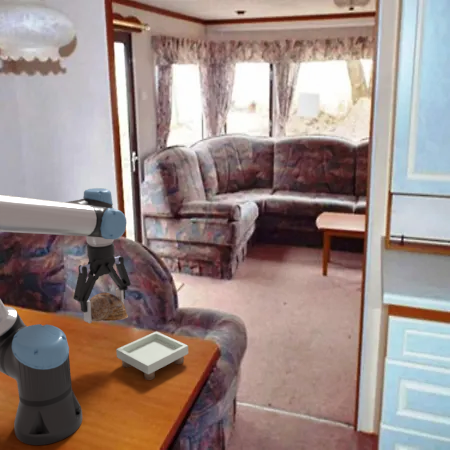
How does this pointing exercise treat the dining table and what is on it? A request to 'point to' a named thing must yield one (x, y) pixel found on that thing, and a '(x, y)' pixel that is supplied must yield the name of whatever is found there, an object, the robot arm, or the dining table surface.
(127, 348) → the shallow white square tray
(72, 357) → the dining table surface
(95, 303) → the seashell
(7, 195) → the robot arm
